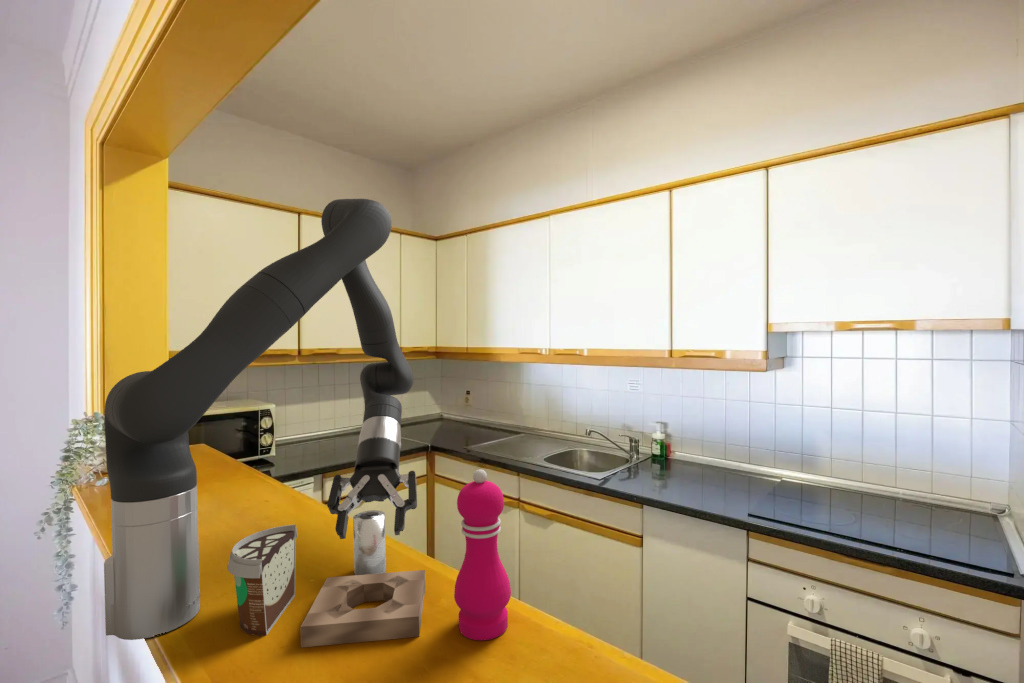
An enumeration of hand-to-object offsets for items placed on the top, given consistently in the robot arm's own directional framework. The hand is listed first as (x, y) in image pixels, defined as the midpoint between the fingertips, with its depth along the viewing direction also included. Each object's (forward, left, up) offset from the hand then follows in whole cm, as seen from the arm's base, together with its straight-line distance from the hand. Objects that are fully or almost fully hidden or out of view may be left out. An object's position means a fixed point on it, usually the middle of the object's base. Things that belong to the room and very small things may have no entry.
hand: (369, 535), depth 76 cm
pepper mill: (+17, -17, -6) cm, 25 cm away
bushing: (0, 0, -6) cm, 6 cm away
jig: (+2, -12, -6) cm, 14 cm away
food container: (-13, -10, -6) cm, 18 cm away
